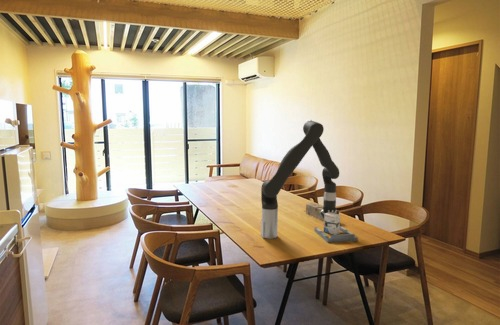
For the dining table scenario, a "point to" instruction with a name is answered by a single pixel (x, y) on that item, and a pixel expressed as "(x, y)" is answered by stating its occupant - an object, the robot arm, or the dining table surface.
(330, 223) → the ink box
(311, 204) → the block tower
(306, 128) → the robot arm
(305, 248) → the dining table surface
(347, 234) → the channel
